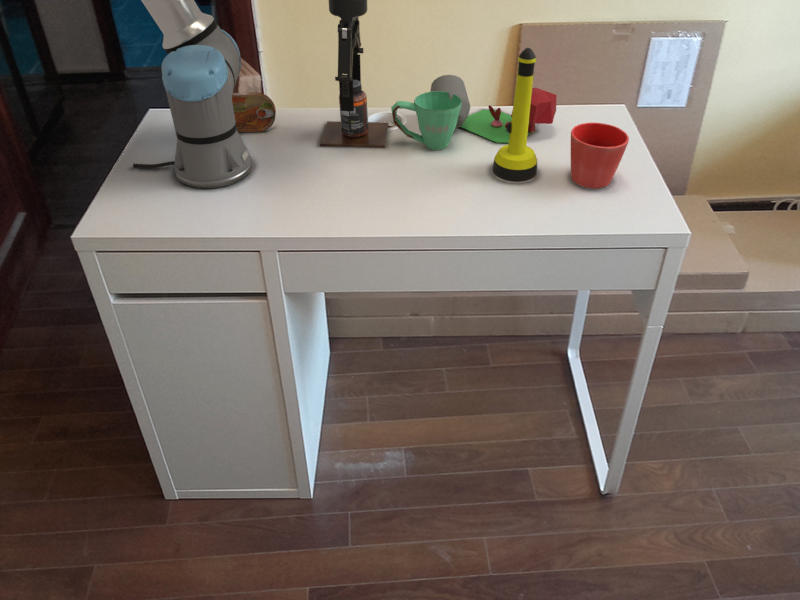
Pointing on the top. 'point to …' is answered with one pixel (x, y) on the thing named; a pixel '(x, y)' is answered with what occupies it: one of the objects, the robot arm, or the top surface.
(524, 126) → the flashlight
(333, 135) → the placemat
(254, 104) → the tin
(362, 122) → the supplement bottle
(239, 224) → the top surface
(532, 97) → the red green faceted piece
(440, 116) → the mug
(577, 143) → the flower pot
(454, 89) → the cup
